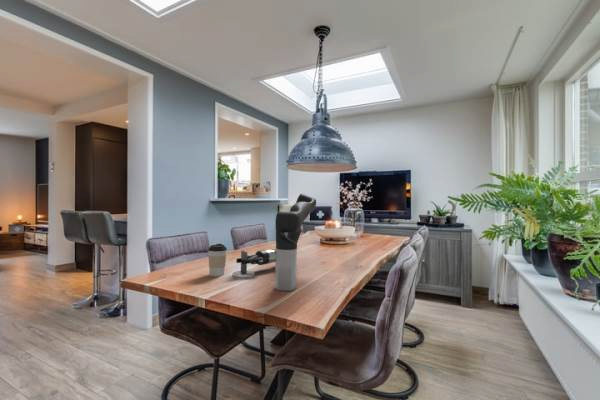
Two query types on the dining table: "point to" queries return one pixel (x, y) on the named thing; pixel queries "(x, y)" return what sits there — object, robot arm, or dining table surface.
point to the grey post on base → (243, 268)
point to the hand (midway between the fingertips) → (239, 261)
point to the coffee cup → (217, 259)
